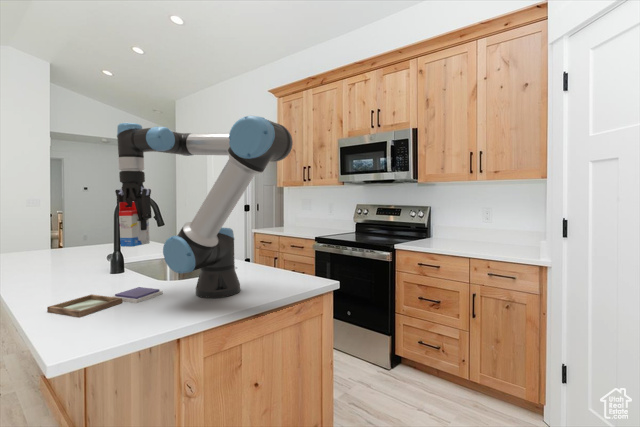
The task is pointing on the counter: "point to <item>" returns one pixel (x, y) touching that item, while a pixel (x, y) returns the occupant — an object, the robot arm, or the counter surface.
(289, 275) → the counter surface
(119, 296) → the ink pad
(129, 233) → the ink box
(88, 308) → the frame
